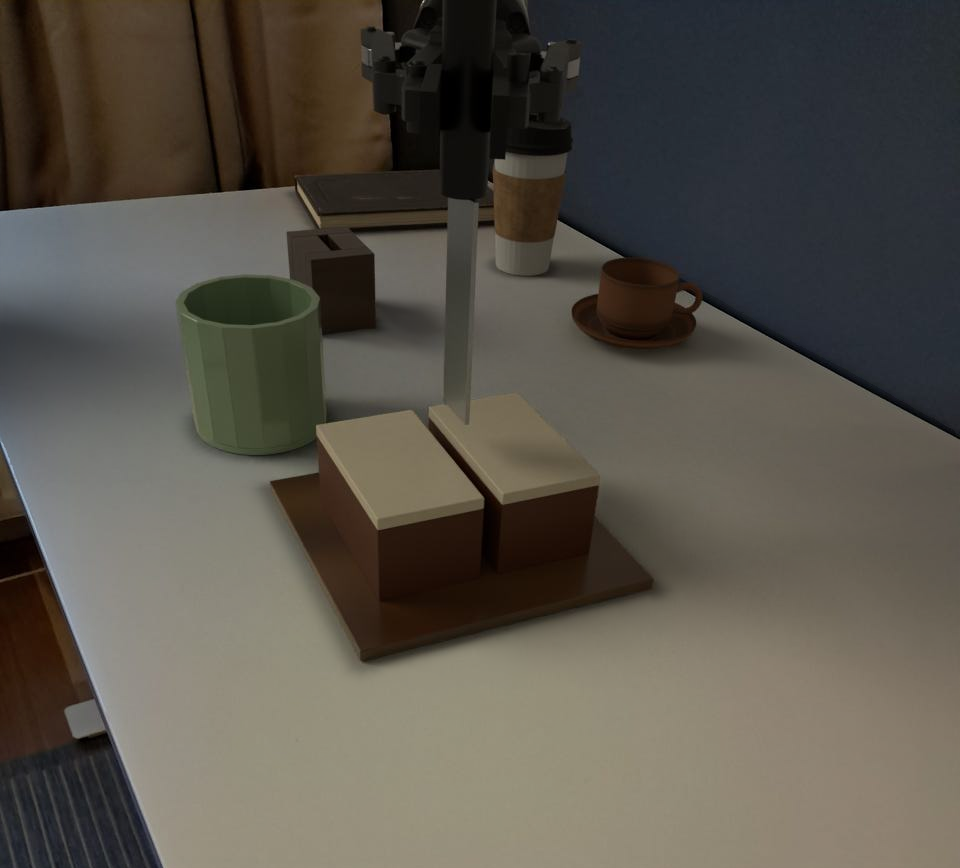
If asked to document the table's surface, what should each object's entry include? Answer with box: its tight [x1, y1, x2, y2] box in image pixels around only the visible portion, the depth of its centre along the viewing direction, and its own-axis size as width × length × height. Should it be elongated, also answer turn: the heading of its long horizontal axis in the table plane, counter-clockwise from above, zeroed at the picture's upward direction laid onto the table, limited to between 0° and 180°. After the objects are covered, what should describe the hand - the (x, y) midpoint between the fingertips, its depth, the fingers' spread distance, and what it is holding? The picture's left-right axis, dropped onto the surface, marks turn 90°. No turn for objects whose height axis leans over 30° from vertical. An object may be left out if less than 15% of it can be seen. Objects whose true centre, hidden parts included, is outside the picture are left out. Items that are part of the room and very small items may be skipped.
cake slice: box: [427, 392, 601, 574], centre depth 66 cm, size 12×7×6 cm, turn 24°
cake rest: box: [316, 409, 484, 601], centre depth 63 cm, size 12×7×6 cm, turn 24°
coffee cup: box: [492, 113, 574, 277], centre depth 103 cm, size 8×8×15 cm
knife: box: [439, 0, 497, 425], centre depth 54 cm, size 4×3×22 cm
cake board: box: [269, 471, 655, 662], centre depth 67 cm, size 20×20×1 cm
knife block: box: [286, 226, 377, 336], centre depth 93 cm, size 8×6×7 cm
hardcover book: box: [293, 169, 495, 233], centre depth 121 cm, size 16×23×2 cm
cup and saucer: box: [571, 257, 703, 350], centre depth 93 cm, size 12×12×6 cm
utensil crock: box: [175, 274, 328, 456], centre depth 74 cm, size 10×10×10 cm
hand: (463, 125), depth 45 cm, fingers closed on knife, 3 cm apart
